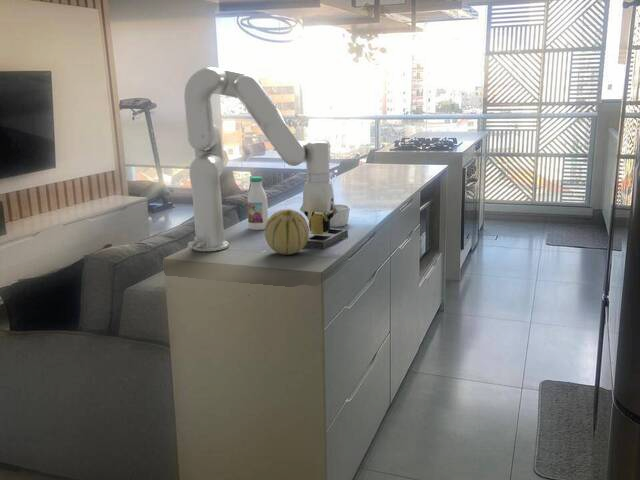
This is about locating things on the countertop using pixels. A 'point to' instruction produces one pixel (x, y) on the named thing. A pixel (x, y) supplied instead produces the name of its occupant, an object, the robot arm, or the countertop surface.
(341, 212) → the ramekin
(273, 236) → the cantaloupe
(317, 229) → the yellow rectangular block
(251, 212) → the milk bottle
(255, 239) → the countertop surface
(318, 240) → the grey board with holes
